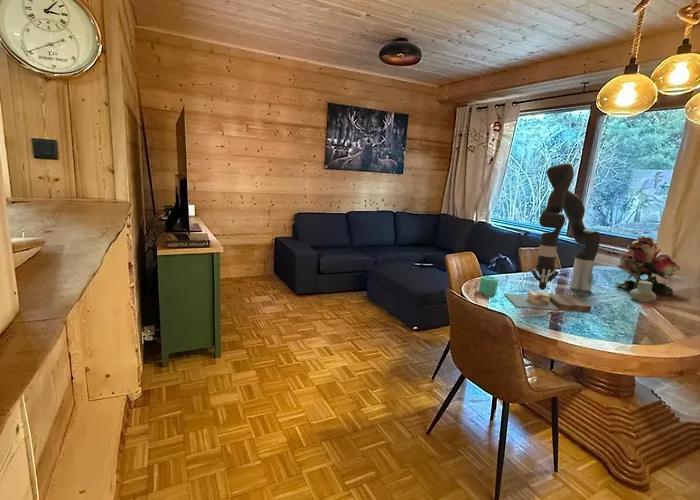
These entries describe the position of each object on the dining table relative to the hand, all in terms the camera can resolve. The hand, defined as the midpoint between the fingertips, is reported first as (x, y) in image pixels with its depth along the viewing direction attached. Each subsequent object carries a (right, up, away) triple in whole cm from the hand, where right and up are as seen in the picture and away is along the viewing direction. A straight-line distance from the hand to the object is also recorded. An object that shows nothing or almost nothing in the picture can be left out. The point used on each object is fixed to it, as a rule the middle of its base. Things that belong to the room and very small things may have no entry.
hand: (541, 289), depth 191 cm
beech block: (-1, -6, +2) cm, 6 cm away
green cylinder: (-21, -3, +14) cm, 26 cm away
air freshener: (+57, -7, +12) cm, 59 cm away
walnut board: (+12, -8, +1) cm, 15 cm away
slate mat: (-5, -6, +2) cm, 8 cm away
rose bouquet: (+72, -3, +34) cm, 80 cm away
